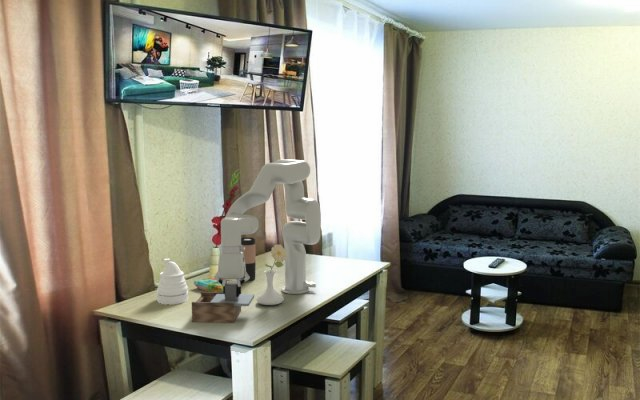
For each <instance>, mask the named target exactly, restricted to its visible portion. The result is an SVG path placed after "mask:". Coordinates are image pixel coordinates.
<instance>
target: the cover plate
mask: <svg viewBox="0 0 640 400" xmlns="http://www.w3.org/2000/svg"><path fill="white" fill-rule="evenodd" d="M236 287H237V280H232V281H229V282H228V283H227V284H226V285H225V294H216V296H215V297H214V298H213V299H212V300H211V302H223V303H234V306H241V307H249V306H250V305H251V303H252V301H253V300H254V297H255V294H251V293H250V294H249V293H246V294H245V293H241V294H240V295H239V297H237V292H236Z"/></svg>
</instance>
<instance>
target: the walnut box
mask: <svg viewBox="0 0 640 400" xmlns="http://www.w3.org/2000/svg"><path fill="white" fill-rule="evenodd" d="M216 294H223V292H209V291H201V292H200V297H198V299H197V300H196V301H192V302H191V319H192V320H191V321H192V323H230V324H231V323H233V324H234V323H235V321H236V320H237V319H238V317H239V315H240V314H241V313H242V306H234V303H223V302H211V300H212V299H213V298H214V297H215V296H216Z"/></svg>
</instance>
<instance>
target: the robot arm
mask: <svg viewBox="0 0 640 400" xmlns="http://www.w3.org/2000/svg"><path fill="white" fill-rule="evenodd" d="M310 173H311V166H310V164H309V163H308V162H307V161H306V160H303V159H301V160H300V159H287V158H286V159H285V158H284V159H277V160H275V161H274V162H269V163H267V162H266V164H264V165H263V166H262V167H261V169H260V171H259V172H258V174H257V177H256V178H255V180H254V182H253V184H252V185H251V188H250V189H249V190H247V192H245V193H244V194H243V195H241V196H240V197H238V198H237V199H236V200H235V201H234V202H232V204H231V206H230V207H229V209H228V211H227V213H226V214H225V217H223V218H221V221H220V245H221V246H220V247H221V251H220V253H219V255H218V264H217V272H216V273H215V275H214V279H215V280H217V281H219V283H220V284H221V285H222V286H223V294H225V285H226V284H227V279H228V280H235V281H237V287H236V292H237V297H239V295H240V294H242V286H243V284H244V283H245V282H248V281H247V280H249V279H250V276H249V275H248V274H247V272H246V268H245V258H244V253H243V252H241V251H243V250H245V247H243V246H241V238H242V236H245V235H252V234H254V233H256V232H257V231H258V229H259V228H260V227H259V226H260V221H259V219H258V218H257V217H256V216H254V215H252V214H244V213H246V212H247V211H248V210H249V209H252V208H254V207H257V206H261V205H263V204H265V203H267V202H268V201H269V200H270V198H271V196H272V193H273V192H274V190H275V188H276V186H277V184H280V185H283V188H284V204H285V205H284V207H285V208H284V209H285V214H286V216H287V217H288V218H290V219H295V220H292V221H291V220H290V221H288V222H285V224H284V225H283V226H282V230H281V233H282V234H281V235H282V239H283V245H284V247H283V248H285V250H286V252H287V253H286V254H287V256H286V257H287V259H285V260H284V285H283V286H281V292H283V293H285V294H287V295H288V294H290V295H302V294H306V293H308V292H309V291H310V288H316V287H317V283H316V282H313V281H308V279H307V277H306V276H307V266H306V265H307V252H306V248H305V245H309V246H310V245H311V246H312V245H316V244H318V243H319V241H320V238H321V207H320V204H319V202H318V201H317V200H316V199H314V198H310V197H305V187H304V183H303V181H305V180H307V179H308V177H309V176H310ZM298 220H304V221H298ZM244 276H245V278H244V279H242V278H243V277H244ZM241 279H242V280H241ZM241 285H242V286H241Z"/></svg>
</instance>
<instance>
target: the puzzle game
mask: <svg viewBox="0 0 640 400" xmlns="http://www.w3.org/2000/svg"><path fill="white" fill-rule="evenodd" d="M214 276H215V275H214ZM214 276H209V277H204V278H201V279H196V280H194V281H193V284H194V285H195V287H196V288H197V289H199V290H203V291H204V292H223V286H222V285H221V284H220V283H219V281H217V280H215V279H214ZM229 281H233V279H227V283H228V282H229ZM242 286H243V284H242V285H241V287H242Z"/></svg>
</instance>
